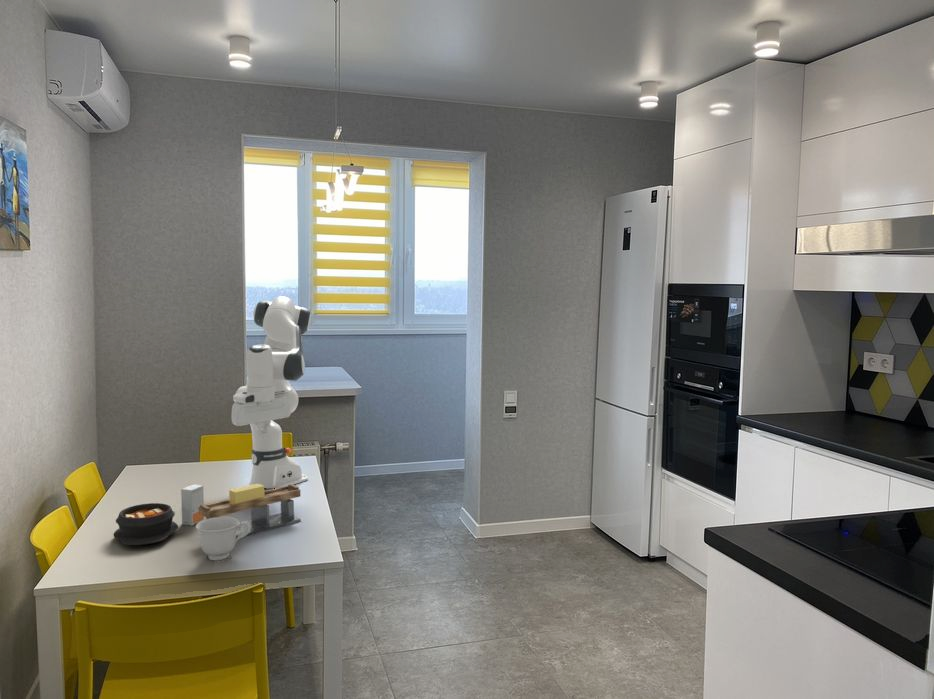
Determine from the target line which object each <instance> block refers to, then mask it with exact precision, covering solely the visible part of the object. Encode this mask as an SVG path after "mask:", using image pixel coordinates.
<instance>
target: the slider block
mask: <svg viewBox="0 0 934 699" xmlns="http://www.w3.org/2000/svg"><path fill="white" fill-rule="evenodd" d="M264 491H265V489H264V486H263V485H261V484H253V485H249V484H248V485H245V486H244V485H243V486H240V487H236V488H232V489H231V488H230V489H229V496H228V498H229V499H230V504H232V505H234V504H238V503H242V502H247V501H251V500H255V499H259V498H263V497H265V496H264Z"/></svg>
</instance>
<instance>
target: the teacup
mask: <svg viewBox="0 0 934 699" xmlns="http://www.w3.org/2000/svg"><path fill="white" fill-rule="evenodd" d="M238 524H240V525H239V526H237V525H238ZM242 525H246V526H247V530H246V532H245V533H243V534H241V535H239V536H238V537H237V538H236V530H237V529H239V530H240V529H241V526H242ZM195 529H197V531H198V533H199V541H200V545H201V549H202V551H203V553H205V554H206V555H208V556H207V557H208V559H209V560H211V561H220V560H222V561H223V560H225V559H227V558H228V557H230V552H231V551H232V550H233V549H234V548H235V545H236V543H237V542H238V540H241V539H242V538H245V537H247V536H246V535H247V534H248V533H249V531H250V525H249V523H248V521H245V520H244V521H241V522H240V521H239V519H238V518H236V517H232V516H220V517H214V518H209V519H205V518H204V520H203V521H200V522H198V523H196V524H195ZM244 536H245V537H244Z"/></svg>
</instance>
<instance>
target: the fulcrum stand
mask: <svg viewBox="0 0 934 699" xmlns="http://www.w3.org/2000/svg"><path fill="white" fill-rule="evenodd" d="M250 511H251V512H250V514H251V517H250V518H251V520H249V521H247V522H248V523H249V525H250V531H249V533H248V534H247V535H246V536H244V537H243V538H245V537H248V536H249V537H250V536H253V535H256V534H259V533H262V532H267V531H271V530H273V529H274V530H275V529H278V528H282V527H286V526H289V525H293V524H296V523H299V522H302V519H301V518H299V517H298V516H295V501H294V499H288V500H284V501H280V512H279V513H275V514H272V515H270V504H268V505H264V506H260V507H255V508H251V509H250ZM219 517H221V516H219ZM205 518H206V517H205ZM206 519H208V518H206ZM239 525H240V523H239V524H238V525H237V526H239ZM246 530H247V526H246V525H242V526H241V529H240V530H239V529H237V530H236V538H237V537H238V536H239V535H241V534H243V533H245V532H246Z"/></svg>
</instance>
